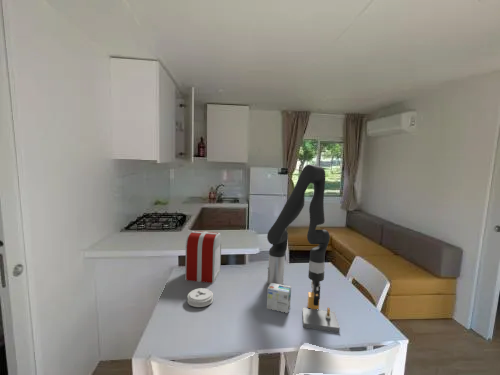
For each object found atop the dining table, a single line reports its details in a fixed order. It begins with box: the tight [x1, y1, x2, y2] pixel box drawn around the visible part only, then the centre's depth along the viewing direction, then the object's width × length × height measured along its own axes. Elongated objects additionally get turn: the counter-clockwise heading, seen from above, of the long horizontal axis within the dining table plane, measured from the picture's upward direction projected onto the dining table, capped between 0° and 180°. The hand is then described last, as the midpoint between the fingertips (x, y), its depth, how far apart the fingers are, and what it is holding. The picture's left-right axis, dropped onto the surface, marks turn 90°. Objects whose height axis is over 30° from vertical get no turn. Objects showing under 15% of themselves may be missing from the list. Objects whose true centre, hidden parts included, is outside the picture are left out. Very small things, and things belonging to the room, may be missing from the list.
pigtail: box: [326, 307, 331, 320], centre depth 117 cm, size 2×2×4 cm
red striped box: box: [184, 230, 222, 284], centre depth 158 cm, size 16×18×27 cm
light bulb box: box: [266, 283, 292, 314], centre depth 127 cm, size 11×7×11 cm, turn 71°
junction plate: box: [301, 307, 341, 333], centre depth 118 cm, size 15×12×2 cm
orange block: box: [307, 291, 320, 310], centre depth 130 cm, size 5×5×6 cm
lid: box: [187, 287, 214, 308], centre depth 131 cm, size 13×13×5 cm
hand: (314, 300), depth 130 cm, fingers open, 8 cm apart
